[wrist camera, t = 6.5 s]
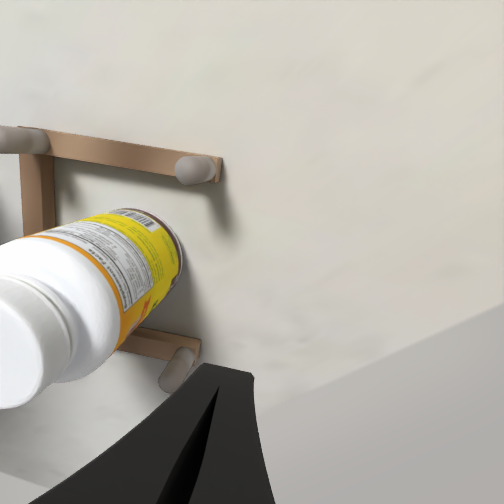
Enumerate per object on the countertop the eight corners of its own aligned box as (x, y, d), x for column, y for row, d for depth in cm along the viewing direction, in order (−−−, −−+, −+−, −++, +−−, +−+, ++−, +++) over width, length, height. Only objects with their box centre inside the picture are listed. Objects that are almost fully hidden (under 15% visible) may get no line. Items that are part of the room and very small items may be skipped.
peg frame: (41, 322, 22) (-7, 353, 18) (32, 127, 18) (-28, 121, 15) (199, 356, 21) (179, 395, 17) (222, 157, 17) (203, 158, 14)
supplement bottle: (120, 308, 21) (-41, 446, 11) (78, 224, 19) (-145, 295, 10) (201, 283, 19) (102, 413, 10) (162, 191, 18) (4, 234, 8)
